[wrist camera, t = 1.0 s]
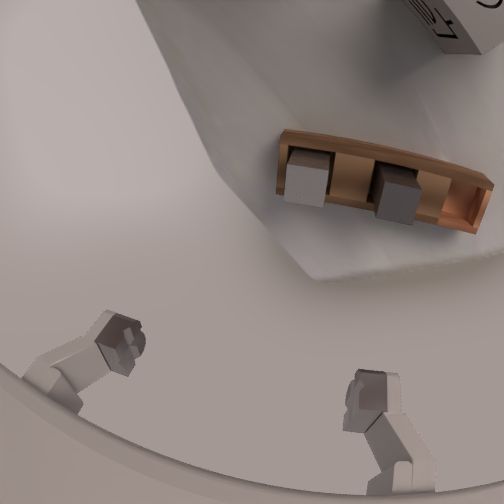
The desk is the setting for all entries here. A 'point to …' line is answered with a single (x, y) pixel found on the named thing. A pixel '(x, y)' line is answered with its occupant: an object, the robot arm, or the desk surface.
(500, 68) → the desk surface
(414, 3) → the icon cube
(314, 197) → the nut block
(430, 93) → the desk surface
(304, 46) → the desk surface
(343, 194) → the wooden compartment tray
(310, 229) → the desk surface
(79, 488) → the robot arm
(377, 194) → the block
